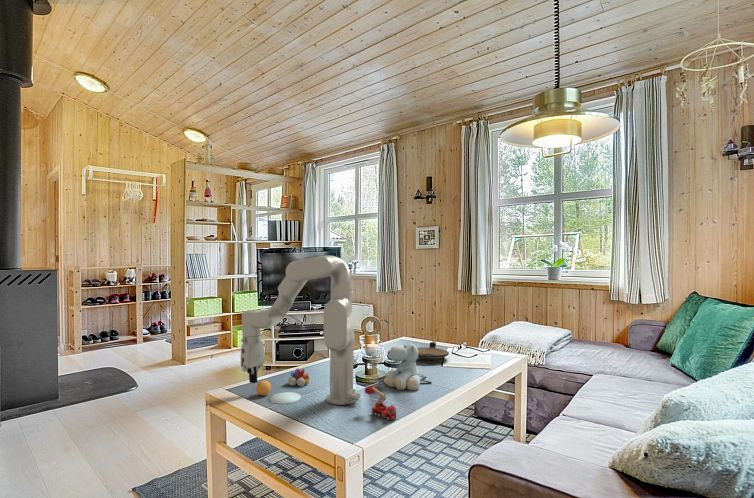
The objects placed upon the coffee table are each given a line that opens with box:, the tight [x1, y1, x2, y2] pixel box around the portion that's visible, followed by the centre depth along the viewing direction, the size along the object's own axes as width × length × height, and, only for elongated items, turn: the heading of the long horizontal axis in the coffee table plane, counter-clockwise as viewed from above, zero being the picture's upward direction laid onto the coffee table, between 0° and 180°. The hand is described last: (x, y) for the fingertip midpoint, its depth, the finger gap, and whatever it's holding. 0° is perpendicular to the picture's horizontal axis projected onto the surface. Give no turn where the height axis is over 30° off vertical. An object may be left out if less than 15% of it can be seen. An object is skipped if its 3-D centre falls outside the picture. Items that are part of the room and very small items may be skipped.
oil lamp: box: [417, 339, 450, 361], centre depth 238 cm, size 22×30×8 cm
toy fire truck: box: [364, 385, 397, 421], centre depth 156 cm, size 3×14×10 cm, turn 48°
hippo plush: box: [383, 342, 433, 391], centre depth 191 cm, size 18×23×18 cm
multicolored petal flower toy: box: [287, 367, 311, 387], centre depth 191 cm, size 8×10×7 cm
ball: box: [255, 380, 272, 396], centre depth 177 cm, size 6×6×6 cm
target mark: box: [268, 391, 302, 405], centre depth 173 cm, size 13×13×1 cm
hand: (253, 382), depth 178 cm, fingers closed
